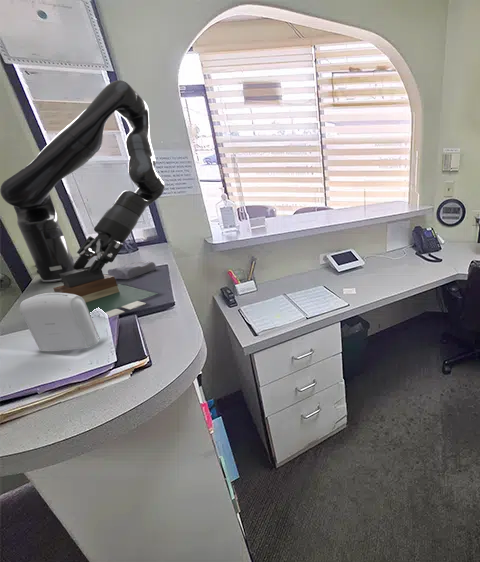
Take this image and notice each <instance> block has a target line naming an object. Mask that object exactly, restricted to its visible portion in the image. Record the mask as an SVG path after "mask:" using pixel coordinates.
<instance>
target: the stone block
mask: <svg viewBox="0 0 480 562" xmlns="http://www.w3.org/2000/svg"><path fill="white" fill-rule="evenodd" d="M156 268H157V265H156V263H155V262H154V261H148V260H138V261H134V262H131V263H128V264H125V265H122V266H118V267H114V268H110V269H108V270H107V275H111V276H114V277H115V280H130V279H133V278H136V277H138V276H141V275H144V274H147V273H149V272H154V271H156V270H157V269H156Z"/></svg>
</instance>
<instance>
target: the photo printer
mask: <svg viewBox="0 0 480 562" xmlns="http://www.w3.org/2000/svg"><path fill="white" fill-rule="evenodd" d="M19 311H20V314H21V315H22V318H23V320H24V322H25V324H26V326H27V328H28V330H29V332H30V333H31V336H32V338H33V341H34V342H35V343H36V346H37V347H38V349H39V351H40V352H57V351H60V352H61V351H72V350H84V349H89V348H90V347H93V346H95V345H97V344H98V343H99V342H100V340H101V337H100V334H99V332H98V330H97V327H96V325H95V322H94V320H93V317H92V318H91V315H90V313H89V310H88V308H87V306H86V303H85V301H84V299H83V298H82V297H80V296H78V295H74V294H69V293H55V292H45V293H39V294H35V295H32V296H30V297H28V298H26V299H24V300H22V301H21V302H20V304H19ZM98 337H99V338H98Z"/></svg>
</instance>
